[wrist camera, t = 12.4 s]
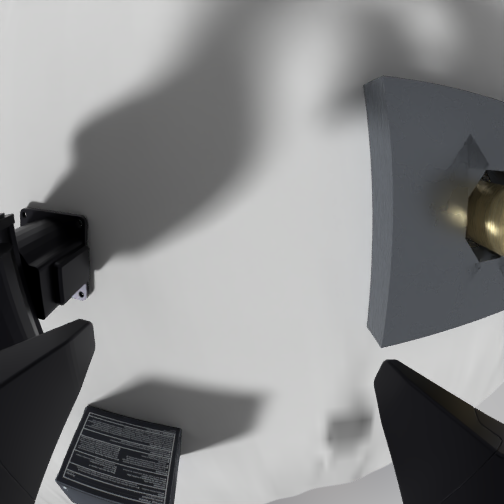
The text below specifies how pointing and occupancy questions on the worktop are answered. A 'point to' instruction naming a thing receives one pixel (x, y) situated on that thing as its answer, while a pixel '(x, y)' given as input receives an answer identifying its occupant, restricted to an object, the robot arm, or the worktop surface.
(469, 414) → the robot arm
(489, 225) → the cylinder
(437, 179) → the grey octagonal hole plate
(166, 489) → the small box
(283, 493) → the worktop surface
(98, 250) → the worktop surface
